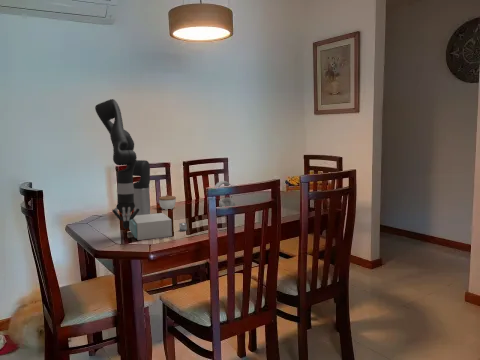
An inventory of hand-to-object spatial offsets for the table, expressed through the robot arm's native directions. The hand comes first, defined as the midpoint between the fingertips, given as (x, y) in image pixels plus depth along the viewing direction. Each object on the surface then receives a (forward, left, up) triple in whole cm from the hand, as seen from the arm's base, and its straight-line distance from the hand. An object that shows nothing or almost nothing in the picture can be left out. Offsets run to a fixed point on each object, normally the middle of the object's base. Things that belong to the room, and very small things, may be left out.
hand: (126, 228), depth 193 cm
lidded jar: (-59, +34, -4) cm, 68 cm away
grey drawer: (0, +10, -3) cm, 11 cm away
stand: (0, +28, -4) cm, 28 cm away
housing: (0, +12, -4) cm, 12 cm away
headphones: (-27, +60, -4) cm, 66 cm away
